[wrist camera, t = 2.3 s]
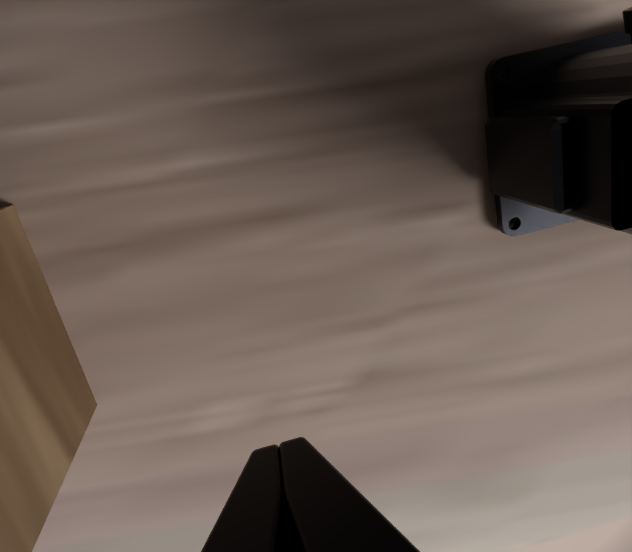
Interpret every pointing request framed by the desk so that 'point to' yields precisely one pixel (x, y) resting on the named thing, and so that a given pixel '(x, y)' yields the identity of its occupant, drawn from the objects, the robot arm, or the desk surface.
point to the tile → (33, 392)
